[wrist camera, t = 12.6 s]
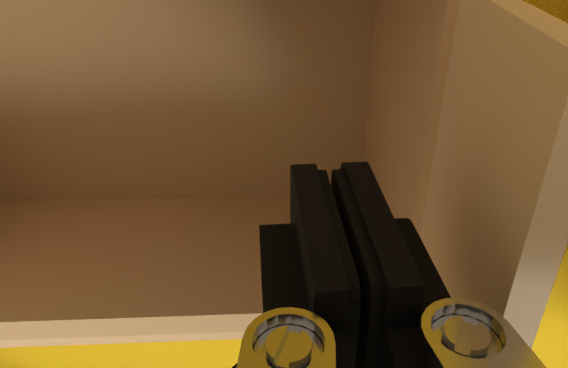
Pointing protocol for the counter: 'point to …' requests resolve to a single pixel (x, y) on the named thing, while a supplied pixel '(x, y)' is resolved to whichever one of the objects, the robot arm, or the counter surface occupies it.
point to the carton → (192, 149)
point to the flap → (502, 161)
